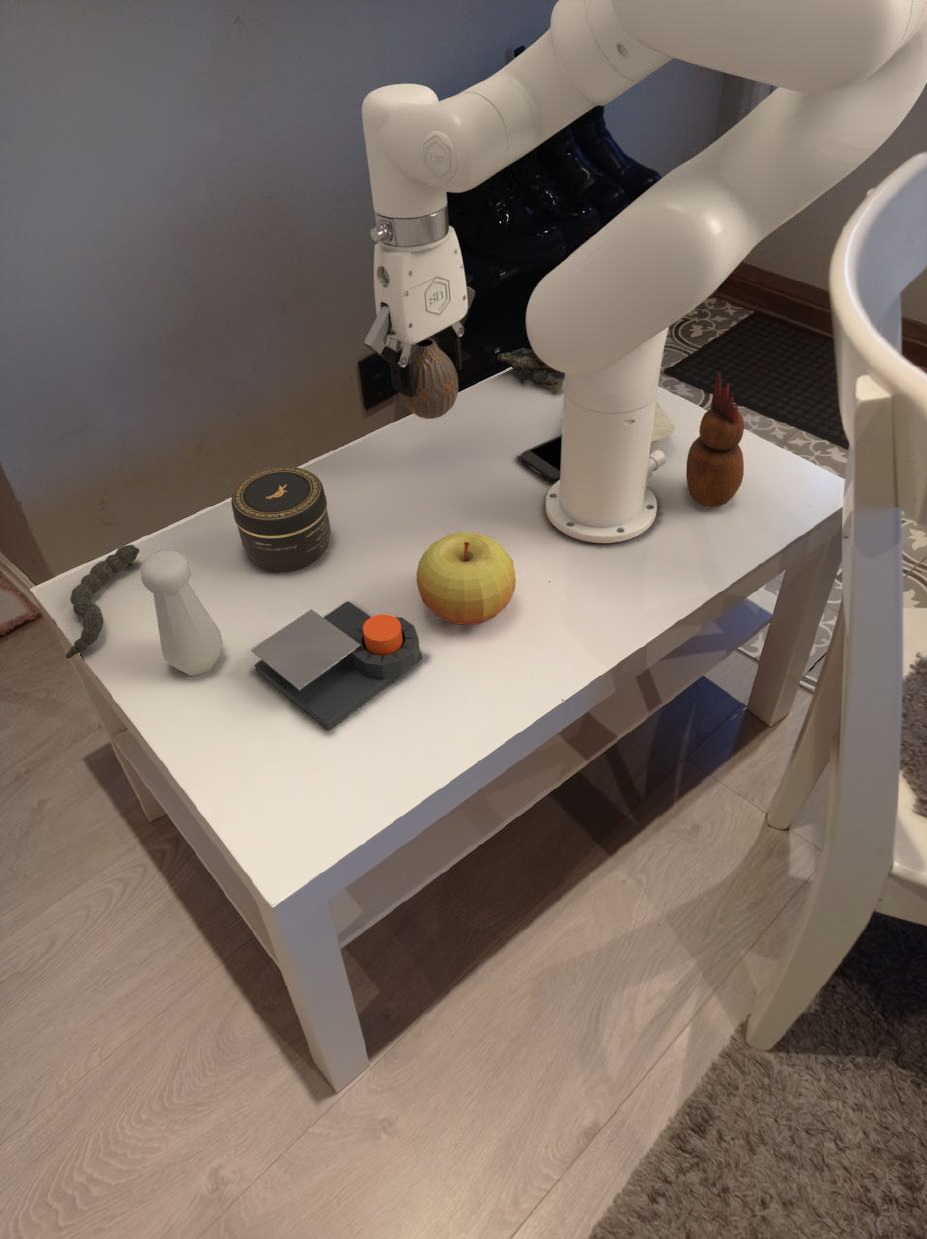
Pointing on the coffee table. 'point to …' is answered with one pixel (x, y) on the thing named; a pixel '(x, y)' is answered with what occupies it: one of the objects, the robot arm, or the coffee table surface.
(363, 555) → the coffee table surface
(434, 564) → the apple
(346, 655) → the plate
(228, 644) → the coffee table surface
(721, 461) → the wooden figurine
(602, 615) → the coffee table surface
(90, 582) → the toy
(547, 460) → the smartphone
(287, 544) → the jar
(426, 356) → the vase
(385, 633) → the button
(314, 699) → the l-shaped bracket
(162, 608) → the salt shaker
